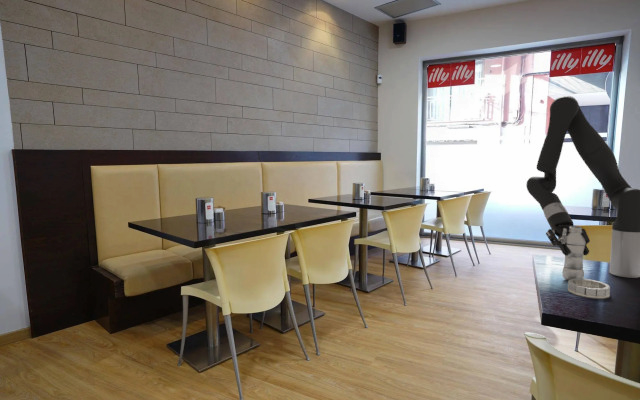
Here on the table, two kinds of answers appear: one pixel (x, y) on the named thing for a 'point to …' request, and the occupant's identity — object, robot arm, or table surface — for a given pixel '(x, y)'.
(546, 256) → the table surface
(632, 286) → the table surface
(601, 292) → the ring holder
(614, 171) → the robot arm
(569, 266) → the plastic bottle
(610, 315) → the table surface
